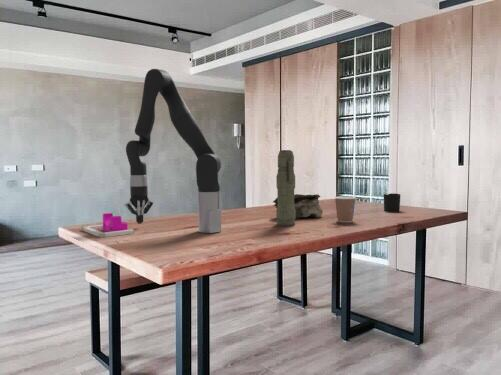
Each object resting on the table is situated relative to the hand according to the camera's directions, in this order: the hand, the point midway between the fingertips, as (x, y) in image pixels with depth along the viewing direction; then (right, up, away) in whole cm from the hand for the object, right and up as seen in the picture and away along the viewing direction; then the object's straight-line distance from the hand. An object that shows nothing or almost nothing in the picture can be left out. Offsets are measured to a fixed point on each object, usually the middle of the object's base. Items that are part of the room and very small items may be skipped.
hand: (139, 223), depth 190 cm
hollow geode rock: (+75, 0, +33) cm, 82 cm away
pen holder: (+133, +2, +58) cm, 146 cm away
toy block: (-9, -3, -8) cm, 12 cm away
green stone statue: (+67, -2, +9) cm, 67 cm away
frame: (-11, -3, -9) cm, 14 cm away
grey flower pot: (+97, -1, +18) cm, 98 cm away
